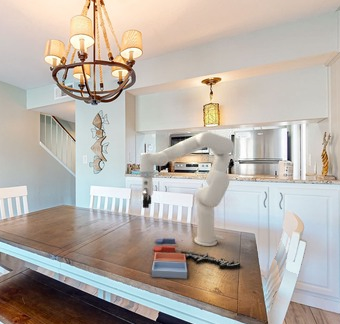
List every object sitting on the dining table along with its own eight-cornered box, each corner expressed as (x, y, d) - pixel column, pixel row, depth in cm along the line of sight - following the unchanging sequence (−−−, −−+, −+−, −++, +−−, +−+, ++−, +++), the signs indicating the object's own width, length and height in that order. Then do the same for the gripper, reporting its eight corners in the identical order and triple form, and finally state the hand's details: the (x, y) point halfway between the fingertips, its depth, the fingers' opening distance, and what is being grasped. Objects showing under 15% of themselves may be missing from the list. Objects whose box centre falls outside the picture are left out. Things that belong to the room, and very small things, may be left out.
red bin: (184, 259, 100) (184, 253, 100) (185, 267, 92) (185, 261, 92) (155, 257, 101) (155, 252, 101) (153, 266, 93) (153, 260, 93)
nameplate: (240, 258, 97) (240, 269, 88) (240, 261, 97) (240, 272, 88) (182, 248, 108) (177, 257, 98) (182, 251, 108) (177, 260, 98)
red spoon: (175, 249, 110) (175, 245, 110) (175, 253, 106) (175, 248, 106) (154, 248, 111) (154, 244, 111) (153, 252, 107) (153, 248, 107)
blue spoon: (174, 241, 121) (175, 237, 121) (175, 244, 117) (175, 240, 117) (156, 240, 122) (156, 236, 122) (155, 243, 118) (155, 239, 118)
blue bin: (185, 268, 91) (185, 262, 91) (187, 278, 84) (187, 272, 83) (153, 266, 93) (153, 260, 93) (151, 276, 85) (151, 270, 85)
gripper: (151, 176, 107) (151, 209, 107) (155, 173, 124) (155, 202, 124) (137, 176, 108) (137, 209, 108) (143, 173, 125) (143, 202, 125)
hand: (147, 205), depth 116 cm, fingers open, 9 cm apart
